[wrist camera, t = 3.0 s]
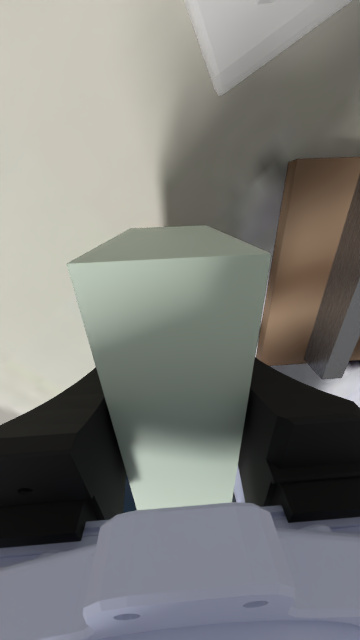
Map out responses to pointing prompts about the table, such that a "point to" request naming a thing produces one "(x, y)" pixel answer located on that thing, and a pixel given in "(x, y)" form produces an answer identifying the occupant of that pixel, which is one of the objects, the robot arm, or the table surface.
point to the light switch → (251, 32)
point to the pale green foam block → (174, 354)
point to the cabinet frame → (315, 269)
